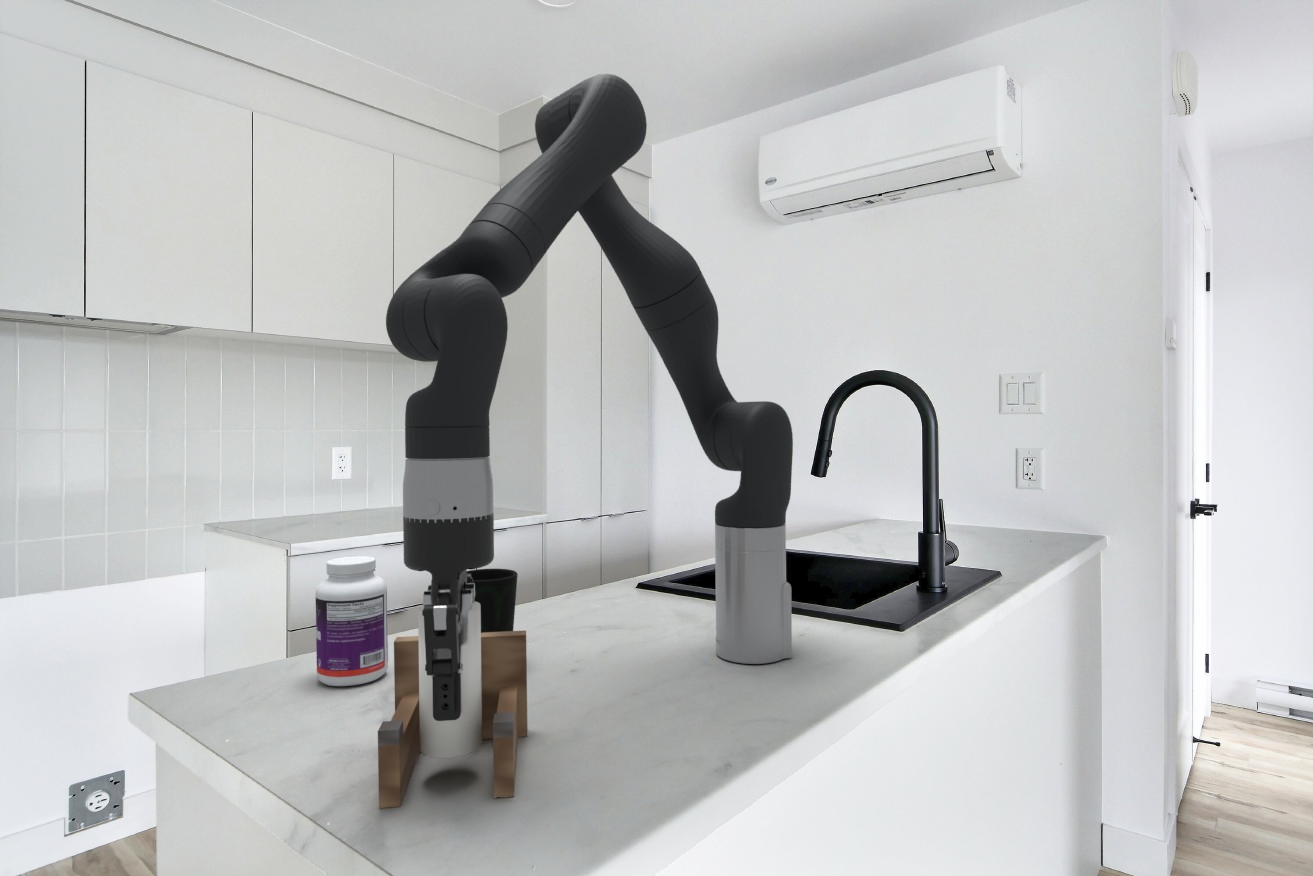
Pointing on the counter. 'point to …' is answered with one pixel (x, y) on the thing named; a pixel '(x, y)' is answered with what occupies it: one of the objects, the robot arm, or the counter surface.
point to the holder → (499, 713)
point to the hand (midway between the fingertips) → (451, 705)
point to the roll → (467, 729)
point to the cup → (495, 598)
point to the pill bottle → (351, 623)
